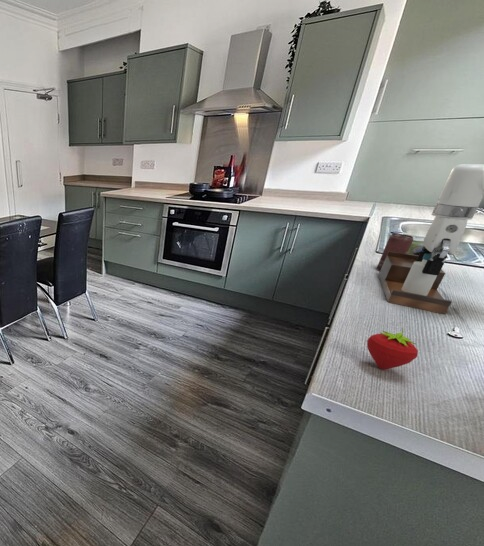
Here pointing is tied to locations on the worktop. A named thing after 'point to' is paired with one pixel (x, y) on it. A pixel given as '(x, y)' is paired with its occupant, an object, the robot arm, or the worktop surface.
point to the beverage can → (416, 246)
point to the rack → (395, 276)
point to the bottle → (419, 278)
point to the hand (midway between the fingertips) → (425, 269)
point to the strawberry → (391, 350)
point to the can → (396, 246)
